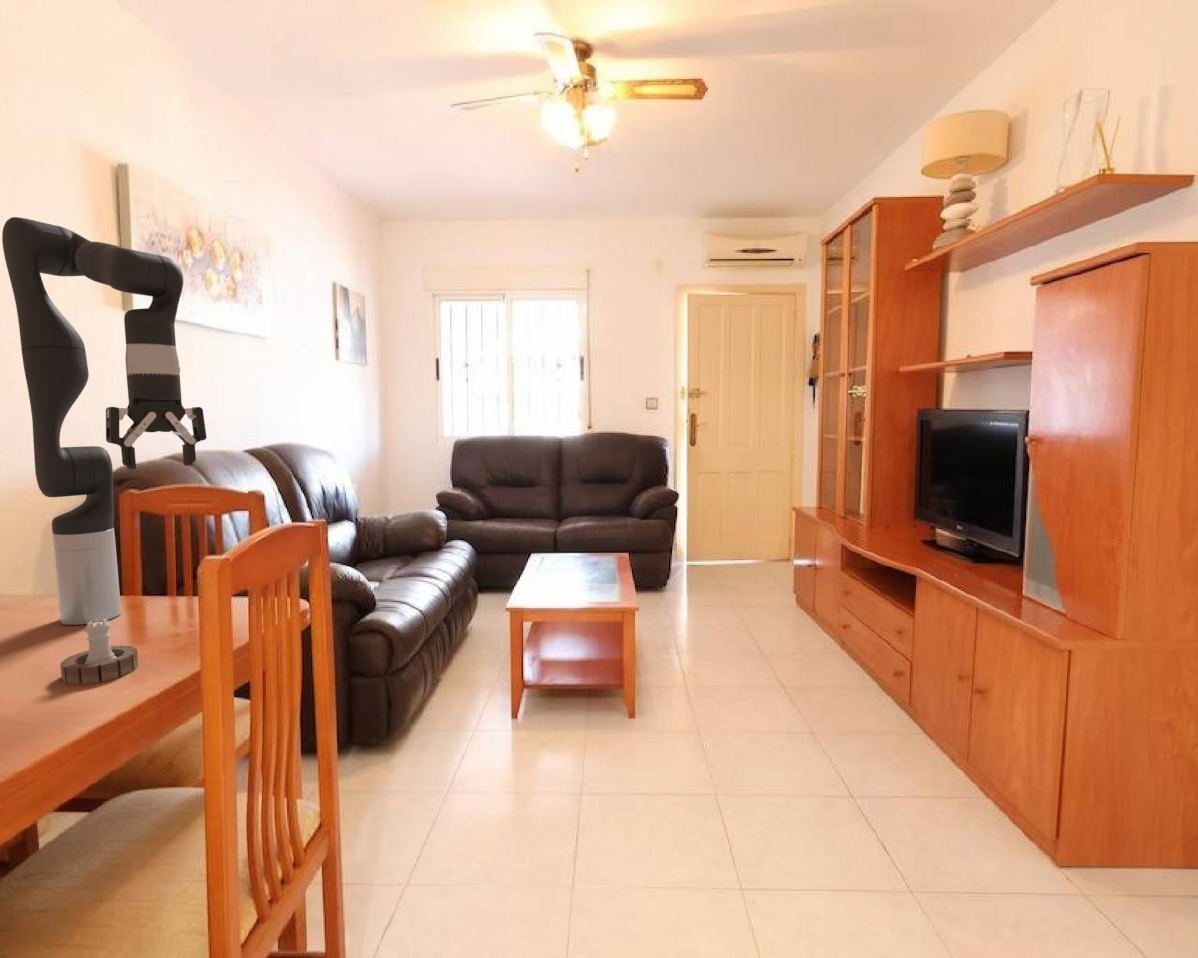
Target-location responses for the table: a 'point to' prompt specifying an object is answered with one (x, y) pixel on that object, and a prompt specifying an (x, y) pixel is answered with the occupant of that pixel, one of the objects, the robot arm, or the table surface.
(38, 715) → the table surface
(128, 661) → the walnut ring bead
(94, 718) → the table surface
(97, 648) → the rook chess piece
